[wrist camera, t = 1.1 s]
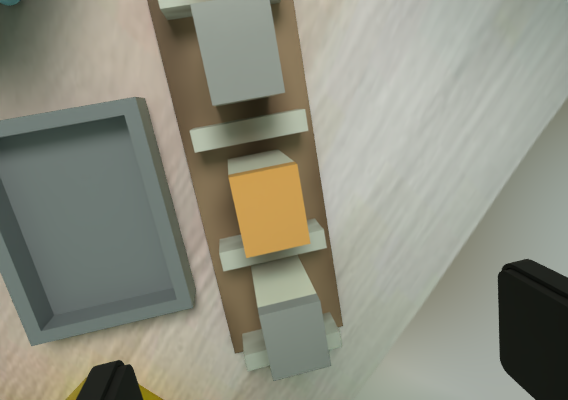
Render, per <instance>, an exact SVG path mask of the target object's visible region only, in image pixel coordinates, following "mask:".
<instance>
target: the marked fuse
mask: <svg viewBox="0 0 568 400" xmlns="http://www.w3.org/2000/svg"><path fill="white" fill-rule="evenodd" d="M228 178H229V182H230V187H231V191H232V196H233V200H234V205H235V209H236V214H237V218H238V223H239V228H240V232H241V237H242V241H243V246H244V250H245V255H246V258H249V257H254V256H258V255H263V254H267V253H271V252H276V251H280V250H285V249H289V248H293V247H298V246H302V245H307V244H311V243H310V237H309V231H308V225H307V219H306V213H305V207H304V201H303V195H302V189H301V183H300V177H299V171H298V165H297V163H295V162H294V161H293V160H292V159H290V158H289V157H288V156H286V155H285V154H284V153H282V152H281V151H280V150H278V149H276V150H271V151H266V152H261V153H256V154H251V155H246V156H241V157H236V158H231V159H228Z"/></svg>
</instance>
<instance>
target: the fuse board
mask: <svg viewBox="0 0 568 400" xmlns="http://www.w3.org/2000/svg"><path fill="white" fill-rule="evenodd" d="M147 1H148V5H149V9H150V13H151V17H152V21H153V25H154V29H155V33H156V37H157V41H158V45H159V49H160V53H161V57H162V61H163V65H164V69H165V73H166V77H167V81H168V85H169V89H170V93H171V97H172V101H173V105H174V110H175V114H176V118H177V122H178V126H179V130H180V134H181V138H182V142H183V146H184V150H185V154H186V158H187V162H188V166H189V170H190V174H191V178H192V182H193V186H194V190H195V194H196V198H197V202H198V206H199V210H200V214H201V218H202V222H203V226H204V230H205V234H206V238H207V242H208V246H209V250H210V254H211V258H212V262H213V266H214V270H215V275H216V279H217V283H218V287H219V291H220V295H221V299H222V303H223V307H224V311H225V315H226V319H227V323H228V327H229V331H230V335H231V339H232V343H233V347H234V351H235V353H239V352H243V351H244V358H245V363H246V367H247V371H251V370H255V369H259V368H263V367H266V366H270V363H269V359H268V354H267V350H266V345H265V341H264V336H263V332H262V327H261V323H260V318H259V313H258V307H257V301H256V294H255V288H254V282H253V276H252V270H251V265H254V264H258V263H263V262H267V261H272V260H276V259H280V258H285V257H289V256H293V255H298V257H299V259H300V261H301V263H302V265H303V267H304V269H305V271H306V273H307V275H308V277H309V279H310V281H311V283H312V285H313V287H314V289H315V291H316V293H317V295H318V297H319V299H320V302H321V308H322V314H323V320H324V326H325V332H326V338H327V344H328V350H332V349H335V348H339V347H342V343H341V336H340V331H339V329H338V327H341V326H343V323H342V317H341V310H340V304H339V297H338V290H337V284H336V277H335V271H334V264H333V258H332V251H331V245H330V238H329V231H328V225H327V218H326V212H325V205H324V199H323V192H322V186H321V179H320V172H319V166H318V159H317V153H316V146H315V140H314V133H313V127H312V120H311V114H310V107H309V100H308V94H307V87H306V81H305V74H304V68H303V61H302V55H301V48H300V41H299V35H298V28H297V22H296V15H295V9H294V2H293V0H270V5H271V11H272V17H273V23H274V29H275V35H276V41H277V46H278V52H279V58H280V64H281V70H282V76H283V82H284V88H285V93H282V94H278V95H274V96H271V97H266V98H261V99H255V100H250V101H244V102H239V103H233V104H228V105H222V106H213V105H212V101H211V96H210V92H209V87H208V83H207V78H206V74H205V69H204V65H203V60H202V56H201V51H200V47H199V42H198V37H197V33H196V28H195V24H194V19H193V15H192V10H191V6H190V4H193V3H199V2H206V1H212V0H147ZM276 149H278V150H280V151H281V152H282V153H284V154H285V155H286V156H288V157H289V158H290V159H292V160H293V161H294V162H295V163H297V165H298V171H299V177H300V183H301V189H302V195H303V201H304V207H305V213H306V219H307V225H308V231H309V237H310V243H311V244H307V245H302V246H298V247H293V248H289V249H285V250H280V251H276V252H271V253H267V254H263V255H258V256H254V257H249V258H246V255H245V250H244V246H243V241H242V237H241V232H240V228H239V223H238V218H237V214H236V209H235V205H234V200H233V196H232V191H231V187H230V182H229V178H228V159H231V158H236V157H241V156H246V155H251V154H256V153H261V152H266V151H271V150H276Z"/></svg>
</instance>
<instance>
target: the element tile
mask: <svg viewBox="0 0 568 400" xmlns="http://www.w3.org/2000/svg"><path fill="white" fill-rule="evenodd" d="M86 379H87V378H86ZM86 379H85V380H84V381H83V382H82V383H81V384H80V385H79V386H78V387H77V388H76V389H75V390H74V391H73V392H72V393H71V394H70V395H69V397H68V398H67V399H66V400H76V398H77V396H78V394H79V392H80V390H81V388H82V387H83V385H84V383H85V381H86ZM138 385H139V384H138ZM139 388H140V391H141V394H142V397H143V399H144V400H163V399H162V398H160V397H158V396H157V395H155V394H154V393H152V392H150V391H149V390H147V389H146V388H144V387H142V386H141V385H139Z"/></svg>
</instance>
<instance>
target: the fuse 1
mask: <svg viewBox="0 0 568 400" xmlns="http://www.w3.org/2000/svg"><path fill="white" fill-rule="evenodd" d="M190 6H191V10H192V15H193V19H194V24H195V28H196V33H197V37H198V42H199V47H200V51H201V56H202V60H203V65H204V69H205V74H206V78H207V83H208V87H209V92H210V96H211V101H212V105H213V106H222V105H228V104H233V103H239V102H244V101H250V100H255V99H261V98H266V97H271V96H274V95H278V94H282V93H285V88H284V82H283V76H282V70H281V64H280V58H279V52H278V46H277V41H276V35H275V29H274V23H273V17H272V11H271V5H270V0H212V1H206V2H199V3H193V4H190Z"/></svg>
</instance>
